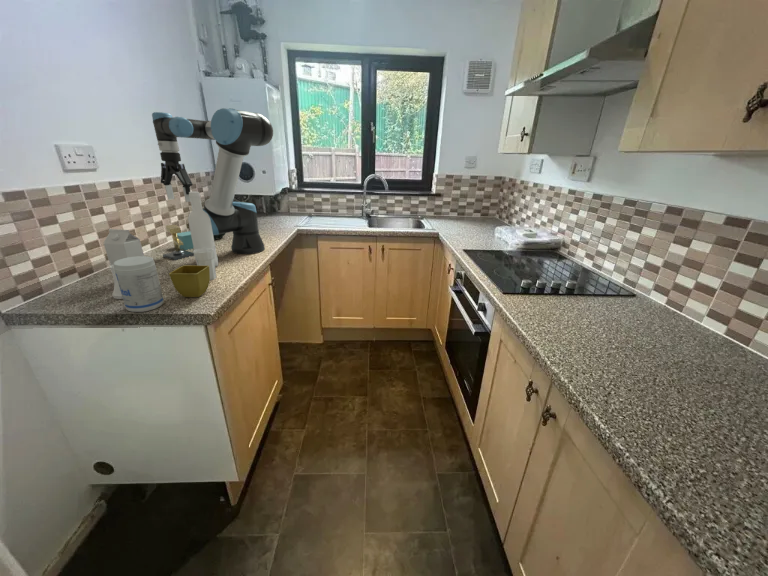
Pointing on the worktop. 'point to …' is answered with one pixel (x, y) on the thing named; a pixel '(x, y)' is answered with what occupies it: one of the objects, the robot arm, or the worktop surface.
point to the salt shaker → (115, 285)
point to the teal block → (185, 240)
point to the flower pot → (191, 280)
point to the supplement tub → (139, 283)
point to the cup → (206, 259)
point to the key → (175, 235)
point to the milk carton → (122, 245)
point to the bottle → (200, 226)
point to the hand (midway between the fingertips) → (180, 200)
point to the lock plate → (178, 254)
